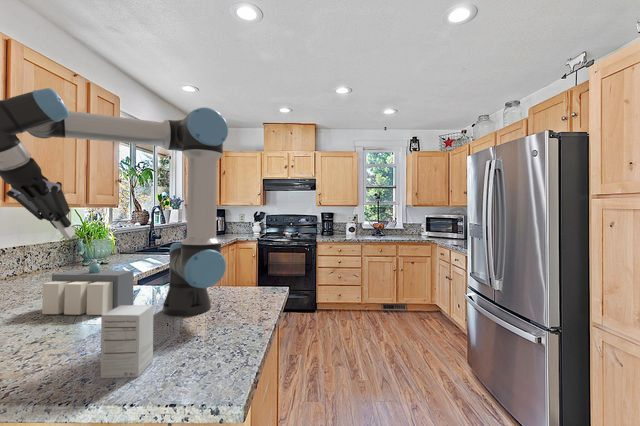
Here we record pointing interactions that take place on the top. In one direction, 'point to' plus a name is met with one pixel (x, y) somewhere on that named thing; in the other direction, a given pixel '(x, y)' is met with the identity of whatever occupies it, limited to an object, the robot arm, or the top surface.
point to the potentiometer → (94, 267)
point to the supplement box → (126, 341)
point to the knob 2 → (99, 297)
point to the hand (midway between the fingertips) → (70, 235)
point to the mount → (81, 278)
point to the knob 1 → (54, 297)
